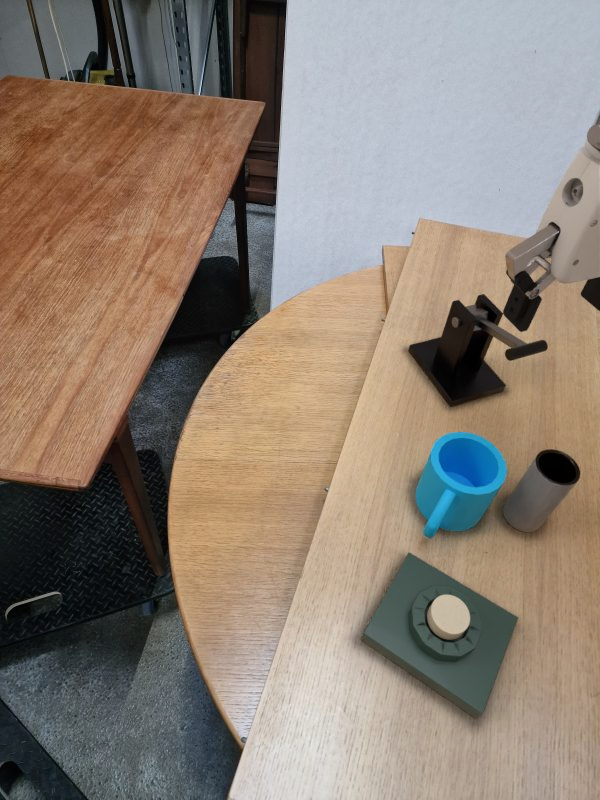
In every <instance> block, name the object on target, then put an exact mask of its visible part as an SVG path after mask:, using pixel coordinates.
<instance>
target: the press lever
mask: <svg viewBox="0 0 600 800" xmlns="http://www.w3.org/2000/svg"><path fill="white" fill-rule="evenodd" d="M465 307H466V308H467V309H468V310H469V311H470V312H471V314H472V315H473V316H474V317H475V318H476V319H477V323H476V325H475V328H474V330H473V331H477V330H481V329H482V330H484V331H485V332H487V333H488V334H490V335H492V336H493V338H495V339H496V340H498V341H500V343H503V344H504V345H506V346H508V347H509V348H507V349H505V351H504V357H505V359H506V360H507V361H509V362H512V361H516V360H519V359H523V358H525V357H530V356H534V355H537V354H540V353H543V352H546V351H548V348H549V347H548V346H549V345H548V342H547V341H546V340H545V339H539V340H535V341H532V342H526V341H524V340H522V339H521V338H519V337H517V336H516V335H514V334H512V333H511V332H509V331H507V330H505V329H504V328H502V327H500V326H499V325H498V326H497V325H495V324H494V323H492V322H490V321H489V320H487V318H488V311H486V310H484V309H482V308H481V307H479V306H477V305H476V304H475V303H474V304H471V305H467V306H466V305H465Z"/></svg>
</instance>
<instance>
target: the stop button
mask: <svg viewBox="0 0 600 800" xmlns="http://www.w3.org/2000/svg"><path fill="white" fill-rule="evenodd" d="M427 620H428V624H429V626H430V628H431V630H432V631H433V632H434V633H435V634H436V635H437V636H439V637H441V638H443V639H446V640H454V639H457V638H458V637H460V636H461V635H462V634H463V633H464V631H465V630H466V629H467V628H468V626H469V623H470V613H469V610H468V608H467V606H466V605H465V604H464V602H463V601H462V600H460V599H459V598H457V597H455V596H453V595H441V596H439V597H437V598H436V599H435V600H434V601H433V603H432V605H431V606H430V608H429V610H428V613H427Z"/></svg>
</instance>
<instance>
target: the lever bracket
mask: <svg viewBox="0 0 600 800" xmlns="http://www.w3.org/2000/svg"><path fill="white" fill-rule="evenodd" d="M475 304H476V305H477V306H479V307H481V308H482V309H484V310H486V311H488V318H487V320H489V321H490V322H492V323H494V324H495V325H497V326H499V325H500V322H501V320H502V317H503V316H504V314H503V311H501V310H500V308H499V307H498V306H496V304H495V303H493V301H492V300H491V299H490V298H488V296H487V295H485V293H482V294H478V295H477V297H476V300H475V303H474V305H475ZM447 314H448V315H447V318H446V320H445V324H444V327H443V330H442V333H441V336H439V337H435V338H431V339H428V340H424V341H420V342H416V343H412V344H409V346H408V349H407V351H408V352H409V354H410V355H411V356H412V358H413V359H414V361H415V362H416V363H417V365H418V366H419V367H420V368H421V370H422V371H423V373H424V374H425V375H426V377H427V378H428V379H429V380H430V382H431V383H432V384H433V386H434V387H435V388H436V390H437V391H438V393H439V394H440V395H441V397H442V398H443V399H444V400H445V402H446V403H447V404H448V406H449V407H450V408H451V407H453V406H458V405H460V404H461V405H462V404H464V403H468V402H470V401H474V400H477V399H481V398H484V397H488V396H490V395H495V394H497V393H501V392H504V391H505V389H506V387H507V384H505V382H504V381H503V380H502V379H501V377H499V375H497V373H496V372H495V371H494V370H493V368H492V367H491V366H490V365H489V364H488V362H487V361H485V357H486V355H487V353H488V351H489V348H490V346H491V344H492V341H493V338H494V337H493V336H492V335H490V334H488V333H487V332H485V331H484V330H482V329H481V330H477V331H473V330H474V328H475V325H476V323H477V319H476V318H475V317H474V316H473V315H472V314H471V312H470V311H469V310H468V309H467V308H466V305H464V303H462V302H461V301H460V299H456V300H453V301H452V303H451V305H450V309H449V311H448V313H447Z"/></svg>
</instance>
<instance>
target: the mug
mask: <svg viewBox="0 0 600 800" xmlns="http://www.w3.org/2000/svg"><path fill="white" fill-rule="evenodd" d="M507 474H508V469H507V462H506V460H505V458H504V456H503V454H502V452H501V451H500V450H499V449H498V447H497V446H496V445H495V444H493V443H492V442H491V441H489V440H488V439H486V438H485V437H483V436H480V435H478V434H475V433H472V432H466V431H454V432H448V433H446V434H444V435H441V436H440V437H439V438H437V440H436V441H435V442H433V445H432V448H431V450H430V453H429V455H428V457H427V460H426V463H425V465H424V468H423V471H422V473H421V476H420V478H419V480H418V483H417V485H416V488H415V492H414V493H415V495H414V497H415V503H416V505H417V508H418V510H419V511H420V513H421V515H422V516H423V517H424V519H426V521H427V522H426V524H425V525H424V528H423V530H422V534H423V536H424V537H425V538H427V539H433V538H434V537H435V536H436V534H437V532H438V531H439V529H442V530H445V531H450V532H455V533H457V532H463V531H468V530H469V529H472V528H474V527H476V525H477V524H478V523H479V522H480V521H481V519H482V518H483V517H484V515H485V514H486V512H487V509H488V508H489V507H490V505H491V504H492V502H493V500H494V499H495V497H496V496H497V494H498V492H499V491H500V489H501V488H502V486H503V484H504V483H505V481H506V477H507Z"/></svg>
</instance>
